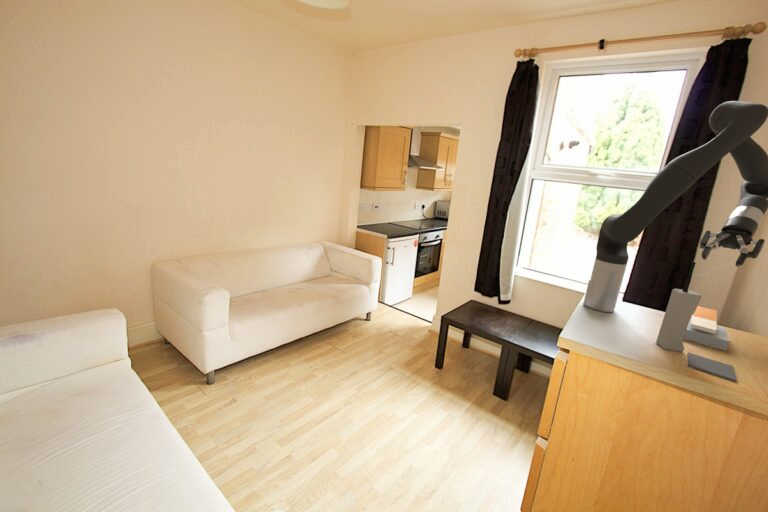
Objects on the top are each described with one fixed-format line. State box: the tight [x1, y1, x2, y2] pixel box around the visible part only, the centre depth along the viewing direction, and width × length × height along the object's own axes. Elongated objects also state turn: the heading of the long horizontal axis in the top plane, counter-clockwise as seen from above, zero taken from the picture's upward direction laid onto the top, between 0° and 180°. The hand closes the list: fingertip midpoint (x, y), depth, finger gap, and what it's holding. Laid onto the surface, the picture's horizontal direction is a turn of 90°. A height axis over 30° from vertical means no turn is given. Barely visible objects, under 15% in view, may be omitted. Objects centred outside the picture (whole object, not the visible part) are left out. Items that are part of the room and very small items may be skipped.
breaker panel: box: [683, 318, 730, 352], centre depth 107 cm, size 12×13×4 cm
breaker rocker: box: [690, 305, 718, 334], centre depth 106 cm, size 6×12×1 cm, turn 140°
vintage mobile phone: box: [655, 261, 703, 353], centre depth 95 cm, size 4×5×25 cm
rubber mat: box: [686, 352, 738, 383], centre depth 89 cm, size 9×9×1 cm
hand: (720, 261), depth 109 cm, fingers open, 7 cm apart
